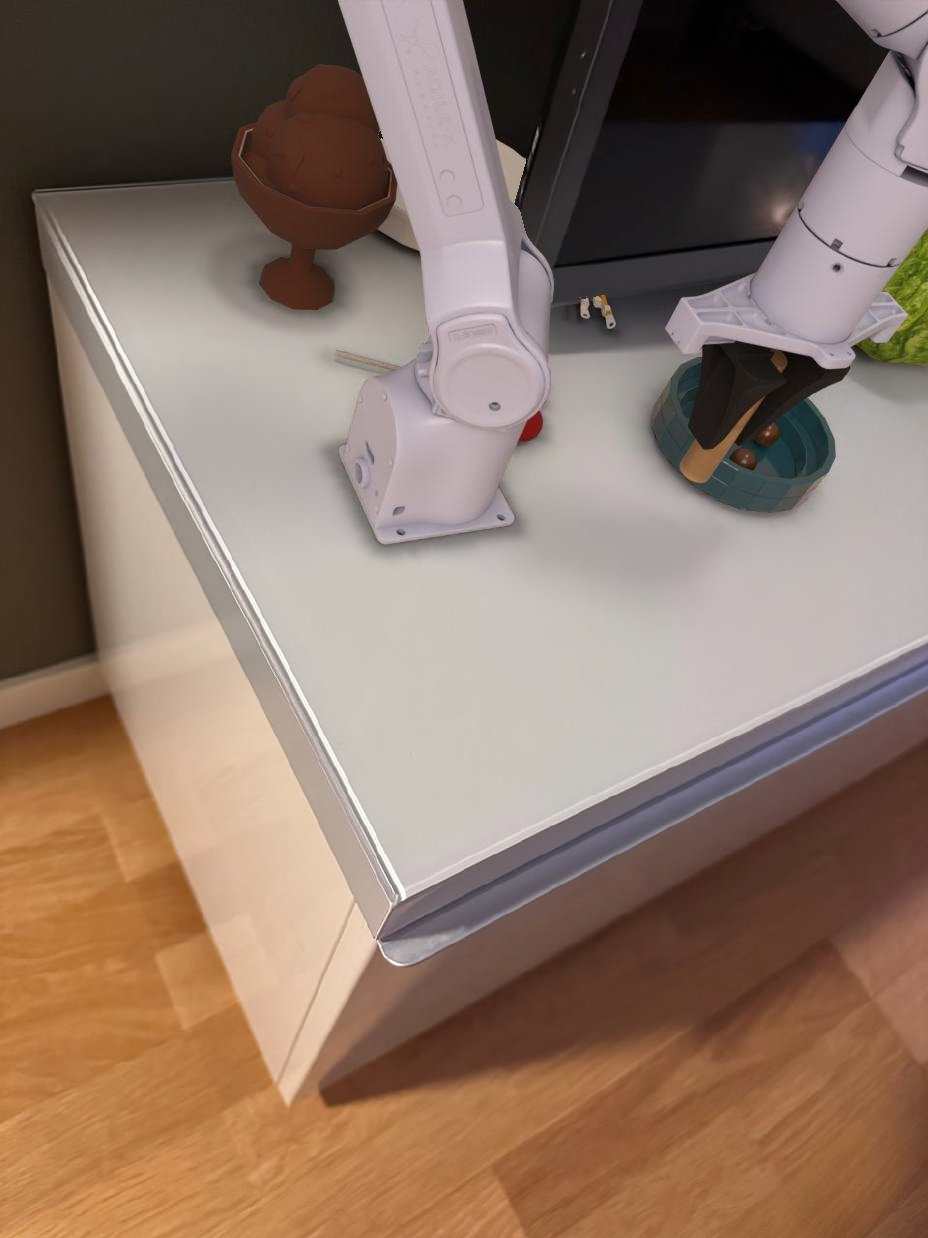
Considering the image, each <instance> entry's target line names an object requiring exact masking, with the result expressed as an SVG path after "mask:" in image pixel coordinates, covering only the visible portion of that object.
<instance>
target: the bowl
mask: <svg viewBox="0 0 928 1238" xmlns="http://www.w3.org/2000/svg"><path fill="white" fill-rule="evenodd" d="M701 366H702V356H696V357H693V358H692V359H689V360H688V361H684V362H683V363H681V364H680V365H679V366H678V367H677V369H676V370H675V371H674V373H673V374H672V375H671V377H670V378H669V380H668V382H667V384H666V386H665V387H664V389H663V391H662V392H661V394H660V396H659V398H658V399H657V401H656V403H655V404H654V406H653V413H652V414H653V415H652V422H651V424H652V428H653V431H654V435H655V439H656V442H657V444H658V446H659V448H660V449H661V451H662V453H664V455H665V457H666V459H667V460H668V461H669V462H670V464H671V465H672V466H673V467H674V469H676V470H677V471H678V472H679V473H680V474H681V475H682V476H683V477H685V476H684V475H683V473H682V472H681V470H680V463H681V461H682V459H683V458H684V456H685V455H686V453H687V451H688V450H689V448H690V447H691V445H692V444H693V442H694V440H695V437H694V436H693V434H692V433H691V431H690V430H689V428H688V423H689V420H690V416H691V413H692V409H693V406H694V402H695V398H696V394H697V390H698V385H699V380H700V374H701ZM775 423H776V424H777V425H778V427H779V429H780V436H779V438H778V440H777V441H776V443H774V444H773V445H771V446H768V447H763V446H760V445H758V444H757V443H756V442H755V441H754V440H752V441H750V442H749V443H748V444H746V445H743V446H737V445H736V443H735V442H734V443H733V445H732V446H731V448H730V449H729V451H728V452H727V453H726V455H725V456H724V458H723V459H722V461H721V462H720V464H719V465H718V467H717V468H716V470H715V471H714V472H713V474H712V475H711V477H710V478H709V480H708V481H706V482H704V483H697V482H694V481H691V480H689V479H688V478H687V477H685V479H686V480H688V482H690V483H691V484H692V486H693V485H694V486H695V487H696V488H698V489H700V490H701V491H703V492H705V493H706V494H707V495H709V496H711V497H713V498H714V499H716V500H718V501H721V502H723V503H725V504H728V505H731V506H734V507H737V508H739V509H742V510H746V511H753V512H760V513H768V514H769V513H770V514H771V513H778V512H784V511H789V510H790V511H791V510H792V509H794V508H796V507H797V506H798V505H800V504H802V503H803V502H805V501H806V500H807V499H808V498H809V497H810V496H811V494H812V493H813V491H815V490H816V488H817V487H818V486H819V485H820V484H821V483H822V481H823V480H824V479H825V477H826V476H828V474H829V472H830V471H831V468H832V467H833V465H834V462H835V460H836V458H837V454H836V453H837V452H836V440H835V436H834V434H833V432H832V430H831V428H830V425H829V423H828V420H826V417H825V416H824V415H823V414H822V413H821V411H820V410H819V409H818V408H817V406H816V405H815V403H813V401H812V400H811V399H810V398H809V397H807V398H806V399H804V400H803V401H801V402H799V403H798V404H797V405H795V406H794V407H792V408H791V409H790V410H788V411H787V412H786V413H784V414H783V415H782V416H781V417H779V418H778V419H777V420H776V421H775ZM739 448H748V449H750V450H752V451H753V452H754V453H755V455H756V457H757V465H756V468H755V469H754V470H753V471H752V470H749V469H747V468H744V467H741V466H739V465H738V464H736V463H734V462H733V461H731V460H729V458H730V455H731V454H732V453H733V452H734V451H735V450H736V449H739Z"/></svg>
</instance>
